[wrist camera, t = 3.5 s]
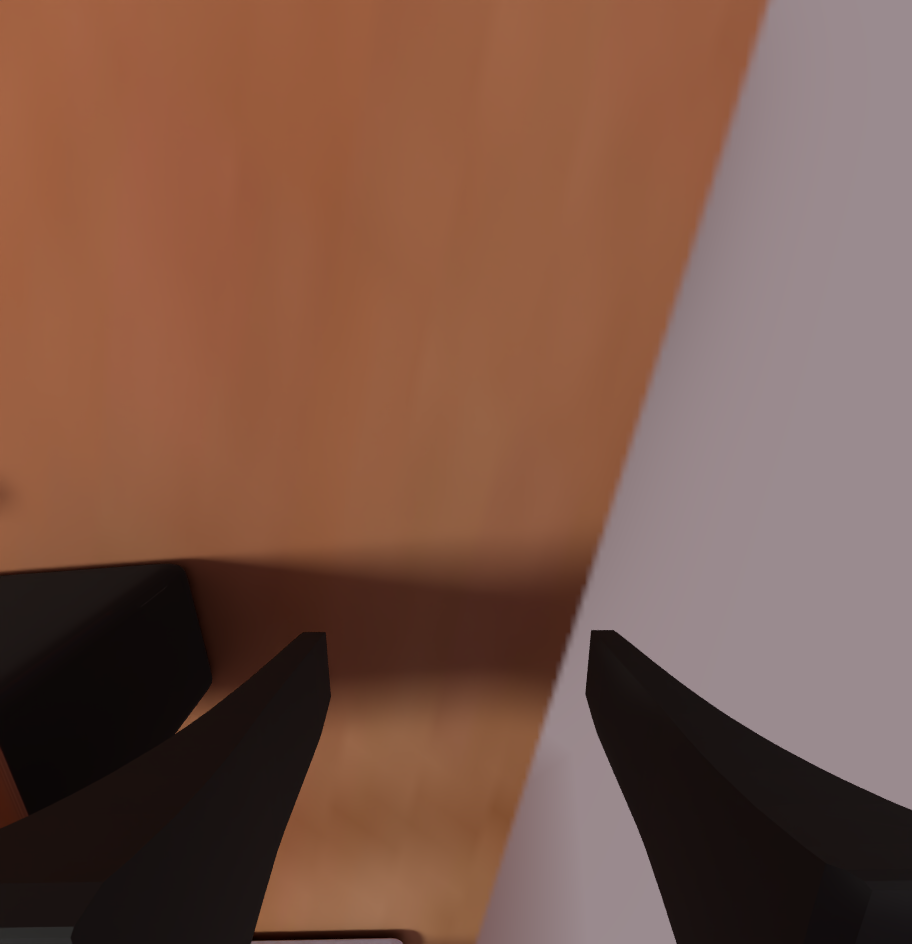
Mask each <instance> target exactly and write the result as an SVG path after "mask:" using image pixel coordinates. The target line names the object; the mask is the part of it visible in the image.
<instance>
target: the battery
mask: <svg viewBox="0 0 912 944" xmlns="http://www.w3.org/2000/svg"><path fill="white" fill-rule="evenodd" d="M211 683H212V674H211V670H210V666H209V662H208V658H207V654H206V650H205V646H204V642H203V638H202V634H201V630H200V626H199V622H198V618H197V614H196V610H195V606H194V602H193V598H192V594H191V590H190V586H189V582H188V579H187V575H186V572H185V570H184V569H183V568H182V567H181V566H179V565H175V564H151V565H137V566H124V567H111V568H97V569H84V570H70V571H57V572H43V573H30V574H17V575H3V576H0V829H1V828H3V827H5V826H7V825H9V824H12V823H14V822H16V821H18V820H21V819H23V818H25V817H27V816H29V815H31V814H33V813H36V812H38V811H40V810H42V809H44V808H46V807H48V806H50V805H52V804H54V803H56V802H58V801H60V800H62V799H64V798H66V797H68V796H70V795H72V794H74V793H75V792H77V791H79V790H81V789H83V788H85V787H87V786H89V785H91V784H92V783H94V782H96V781H98V780H100V779H102V778H104V777H105V776H107V775H109V774H111V773H113V772H114V771H116V770H118V769H119V768H121V767H123V766H124V765H126V764H128V763H129V762H131V761H133V760H134V759H136V758H138V757H139V756H141V755H143V754H144V753H146V752H148V751H150V750H151V749H153V748H155V747H156V746H158V745H159V744H161V743H163V742H164V741H166V740H167V739H169V738H170V737H172V736H173V735H175V733H176V732H177V731H178V729H179V728H180V727H181V725H182V724H183V723H184V721H185V720H186V719H187V717H188V716H189V715H190V713H191V712H192V710H193V709H194V708H195V706H196V705H197V704H198V702H199V701H200V700H201V698H202V697H203V696H204V694H205V693H206V691H207V690H208V689H209V687H210V685H211Z"/></svg>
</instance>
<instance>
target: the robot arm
mask: <svg viewBox="0 0 912 944" xmlns="http://www.w3.org/2000/svg"><path fill="white" fill-rule="evenodd" d="M330 698H331V692H330V680H329V668H328V656H327V644H326V632H303V633H302V634H300V635H299V636H298V637H297V638H296V639H295V640H293V641H292V642H291V643H290V644H289V645H288V646H287V647H285V648H284V649H283V650H282V651H281V652H280V653H279V654H278V655H276V656H275V657H274V658H273V659H272V660H271V661H270V662H268V663H267V664H266V665H265V666H264V667H263V668H261V669H260V670H259V671H258V672H257V673H256V674H254V675H253V676H252V677H251V678H250V679H249V680H247V681H246V682H245V683H244V684H242V685H241V686H240V687H239V688H237V689H236V690H235V691H234V692H232V693H231V694H230V695H228V696H227V697H226V698H225V699H223V700H222V701H221V702H220V703H218V704H217V705H216V706H214V707H213V708H212V709H211V710H209V711H208V712H206V713H205V714H204V715H202V716H201V717H200V718H198V719H197V720H195V721H194V722H193V723H191V724H190V725H188V726H187V727H185V728H184V729H182V730H181V731H179V732H178V733H176V734H175V735H173V736H172V737H170V738H169V739H167V740H166V741H164V742H163V743H161V744H159V745H158V746H156V747H155V748H153V749H151V750H150V751H148V752H146V753H144V754H143V755H141V756H139V757H138V758H136V759H134V760H133V761H131V762H129V763H128V764H126V765H124V766H123V767H121V768H119V769H118V770H116V771H114V772H113V773H111V774H109V775H107V776H105V777H104V778H102V779H100V780H98V781H96V782H94V783H92V784H91V785H89V786H87V787H85V788H83V789H81V790H79V791H77V792H75V793H74V794H72V795H70V796H68V797H66V798H64V799H62V800H60V801H58V802H56V803H54V804H52V805H50V806H48V807H46V808H44V809H42V810H40V811H38V812H36V813H33V814H31V815H29V816H27V817H25V818H23V819H21V820H18V821H16V822H14V823H12V824H9V825H7V826H5V827H3V828H1V829H0V944H403V943H402V942H401V941H400V940H398V939H395V938H373V939H322V940H271V941H252V938H253V935H254V931H255V927H256V924H257V920H258V916H259V913H260V909H261V906H262V902H263V899H264V895H265V892H266V889H267V885H268V882H269V878H270V875H271V871H272V868H273V865H274V861H275V858H276V854H277V851H278V848H279V845H280V843H281V840H282V837H283V834H284V831H285V828H286V826H287V823H288V820H289V818H290V815H291V813H292V810H293V807H294V805H295V802H296V800H297V797H298V794H299V792H300V789H301V787H302V784H303V781H304V779H305V776H306V774H307V771H308V768H309V766H310V763H311V761H312V758H313V755H314V753H315V750H316V747H317V745H318V742H319V739H320V736H321V733H322V729H323V726H324V722H325V718H326V714H327V710H328V706H329V702H330ZM586 698H587V701H588V705H589V708H590V712H591V715H592V719H593V722H594V725H595V728H596V731H597V734H598V736H599V739H600V741H601V744H602V746H603V749H604V751H605V753H606V756H607V758H608V760H609V763H610V765H611V767H612V770H613V772H614V774H615V777H616V779H617V781H618V783H619V786H620V788H621V790H622V793H623V795H624V797H625V800H626V802H627V804H628V807H629V809H630V811H631V814H632V816H633V818H634V821H635V823H636V825H637V828H638V830H639V833H640V835H641V838H642V841H643V843H644V846H645V848H646V851H647V854H648V857H649V860H650V863H651V866H652V869H653V872H654V875H655V878H656V881H657V884H658V887H659V890H660V893H661V896H662V899H663V902H664V905H665V908H666V911H667V915H668V918H669V921H670V924H671V927H672V930H673V934H674V936H675V939H676V943H677V944H912V810H910V809H908V808H905V807H903V806H900V805H898V804H896V803H893V802H891V801H889V800H886V799H884V798H882V797H880V796H877V795H875V794H873V793H871V792H869V791H867V790H865V789H862V788H860V787H858V786H856V785H854V784H852V783H849V782H847V781H845V780H843V779H841V778H839V777H837V776H835V775H833V774H831V773H829V772H827V771H825V770H823V769H820V768H819V767H817V766H815V765H813V764H811V763H809V762H807V761H805V760H804V759H802V758H800V757H798V756H796V755H794V754H792V753H790V752H788V751H787V750H784V749H783V748H781V747H779V746H777V745H775V744H774V743H772V742H770V741H769V740H767V739H765V738H763V737H762V736H760V735H758V734H757V733H755V732H753V731H752V730H750V729H749V728H747V727H745V726H744V725H742V724H740V723H739V722H737V721H736V720H734V719H732V718H730V717H729V716H728V715H726V714H724V713H723V712H722V711H720V710H719V709H717V708H716V707H714V706H713V705H711V704H710V703H708V702H707V701H706V700H704V699H703V698H701V697H700V696H698V695H697V694H696V693H694V692H693V691H691V690H690V689H689V688H687V687H686V686H685V685H683V684H682V683H680V682H679V681H678V680H677V679H675V678H674V677H673V676H671V675H670V674H669V673H667V672H666V671H665V670H664V669H662V668H661V667H660V666H658V665H657V664H656V663H654V662H653V661H652V660H651V659H650V658H648V657H647V656H646V655H644V654H643V653H642V652H641V651H639V650H638V649H637V648H636V647H635V646H633V645H632V644H631V643H630V642H628V641H627V640H626V639H624V638H623V637H622V636H621V635H619V634H618V633H617V632H615V631H614V630H592V631H591V638H590V650H589V660H588V672H587V682H586Z"/></svg>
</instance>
